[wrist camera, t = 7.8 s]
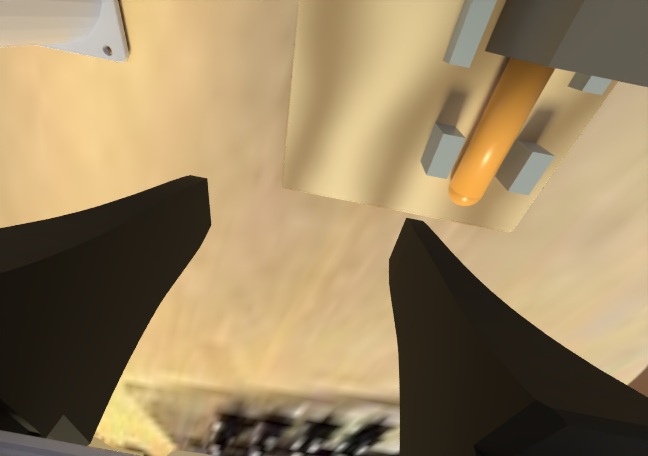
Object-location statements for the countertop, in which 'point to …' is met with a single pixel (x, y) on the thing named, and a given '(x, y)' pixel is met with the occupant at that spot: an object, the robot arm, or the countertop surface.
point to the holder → (471, 32)
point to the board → (407, 108)
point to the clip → (513, 174)
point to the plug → (548, 70)
